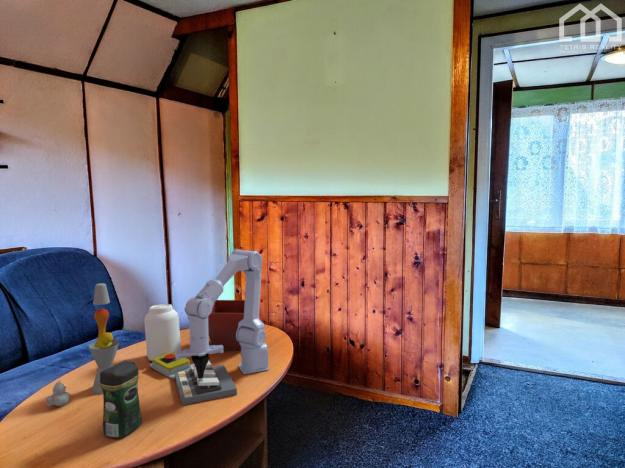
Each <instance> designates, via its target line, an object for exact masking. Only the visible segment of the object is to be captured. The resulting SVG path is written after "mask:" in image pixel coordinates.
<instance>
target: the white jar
mask: <svg viewBox="0 0 625 468" xmlns="http://www.w3.org/2000/svg"><path fill="white" fill-rule="evenodd" d="M143 323H144V332H145V344H146V358H147V359H148V361H151V362H152V360H153V358H156V357H159V356H162V355H164V354H167V353H171V352H177V351H181V350H182V345H181V333H180V319H179V314H178V312H177V311H176V309H174V307H173V305H172V304H170V303H161V304H155V305H152V306H150V307H149V309H148V313H147V314H146V315H145V316H144V322H143Z"/></svg>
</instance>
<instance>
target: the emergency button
mask: <svg viewBox="0 0 625 468" xmlns="http://www.w3.org/2000/svg"><path fill="white" fill-rule="evenodd" d="M149 367H150V368H151V369H153V370H155V371H157V372H158V373H161V374H162V375H164V376H165V377H167V378H169V379H172V380H175V373H177V372H182V371H189V369H191V361H190V359H188V357H186V358H180V359H179V360H176V358H175V352H171V353H167V354H164V355H162V356H159V357H156V358H153V360H152V361H151V363H150V365H149Z"/></svg>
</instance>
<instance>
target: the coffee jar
mask: <svg viewBox="0 0 625 468" xmlns="http://www.w3.org/2000/svg"><path fill="white" fill-rule="evenodd" d="M112 365H113V366H111V367H109V368H107V369H105V370H103V371H102V372H101V373H100V386H101V388H102V390H103V394H102V396H103V399H102V400H103V415H102V429H103V430H102V431H103V432H102V433H103V435H104V436H106V437H107V438H111V439H119V438H121V439H123V438H124V437H127V436H128V435H129V434H131V433H133V432H134V431H135V430H136V429H138V428H139V427H141V425H142V423H143V422H142V421H143V418H142V410H141V405H140V399H139V398H140V397H139V388H138V385H139V384H138V383H139V376H140V373H139V369H138V368H139V367H138V364H137V363H136V362H135V361H133V360H127V359H123V360H122V361H120V362H118V363H115V364H112Z"/></svg>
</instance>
